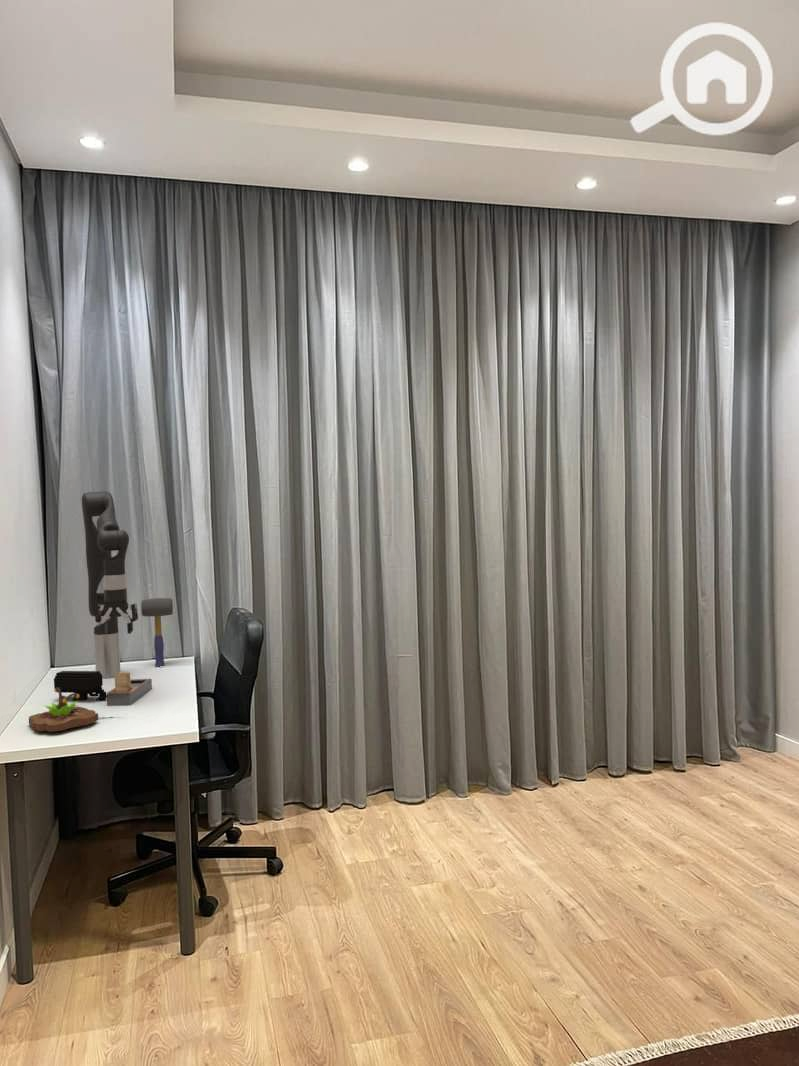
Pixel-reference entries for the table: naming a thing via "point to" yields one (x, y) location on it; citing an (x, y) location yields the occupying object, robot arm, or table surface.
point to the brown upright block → (122, 681)
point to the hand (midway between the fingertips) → (117, 633)
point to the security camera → (80, 684)
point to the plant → (62, 716)
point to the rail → (129, 693)
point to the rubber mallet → (157, 622)
